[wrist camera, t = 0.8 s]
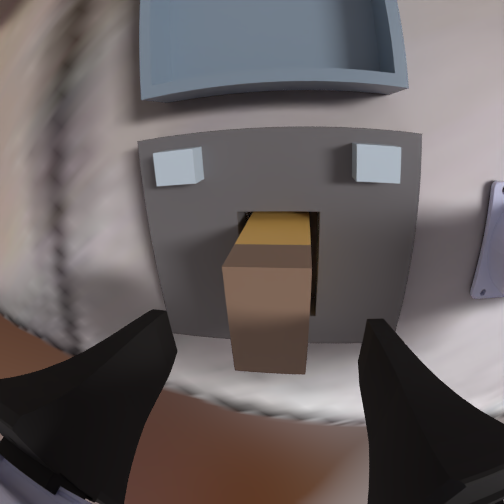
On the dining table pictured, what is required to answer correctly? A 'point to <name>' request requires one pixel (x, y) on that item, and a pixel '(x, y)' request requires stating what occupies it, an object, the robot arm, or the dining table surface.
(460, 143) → the dining table surface
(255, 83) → the parts tray
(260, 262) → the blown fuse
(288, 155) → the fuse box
